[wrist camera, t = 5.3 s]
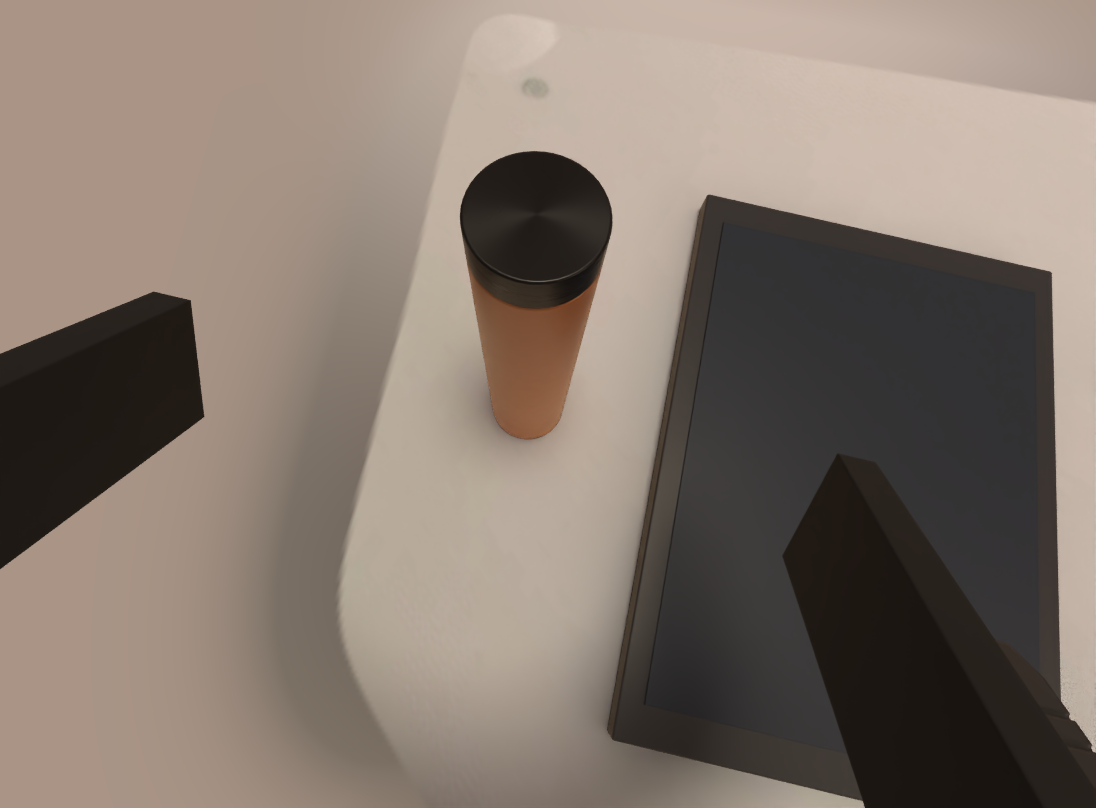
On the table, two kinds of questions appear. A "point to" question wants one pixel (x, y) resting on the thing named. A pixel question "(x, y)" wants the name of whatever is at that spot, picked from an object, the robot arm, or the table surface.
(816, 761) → the tablet
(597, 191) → the copper cylinder
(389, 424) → the table surface
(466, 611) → the table surface
